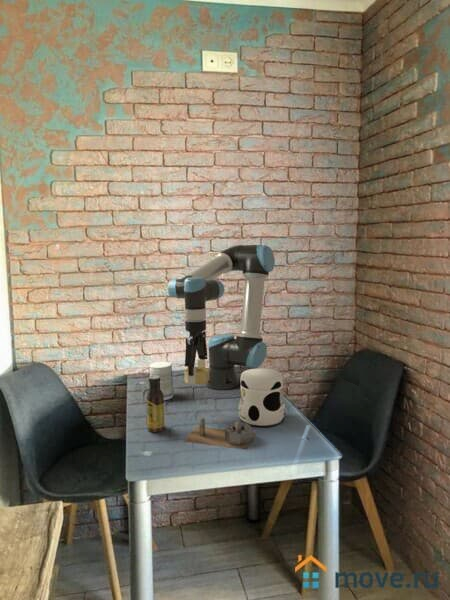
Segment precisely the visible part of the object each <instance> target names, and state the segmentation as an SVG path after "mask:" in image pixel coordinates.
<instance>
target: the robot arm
mask: <svg viewBox="0 0 450 600" xmlns="http://www.w3.org/2000/svg"><path fill="white" fill-rule="evenodd" d="M275 264H276V260H275V253H274V251H273V249H272V248H271V247H270V246H269V245H266V244H264V245H263V244H247V245H246V244H245V245H243V244H242V245H241V244H240V245H238V244H237V245H234V246H231V247H228V248H226V249H224V250H222V251H220V252H219V253H217V254H216V255H214V258H213V259H211V260H210V261H208V262H207V263H205V264H203V265H202V266H200V267H199V268H196V269H195V270H193V271H192V272H190V273H189V274H187V275H185V276H184V277H181V278H173V279H171V280H170V281H169V282H168V285H167V292H168V295H169V296H170V297H171V298H174V299H178V300H179V299H183V300H184V310H183V311H184V316H185V317H184V318H185V323H184V324H185V325H184V328H185V332H188V333H189V336H188V338H185V355H184V357H185V359H184V367H187V368H188V383H187V384H188V385H195V384H196V367H206V360H208V363H209V366H208V367H209V368H208V369H209V375H210V380H209V381H208V382H207V383H205V384H206V387H207V388H208V389H212V390H217V391H219V390H221V391H222V390H224V391H225V390H231V389H235V388H237V387H238V386H239V384H240V379H239V376H238V374H237V371H236V367H235V366H239V367H245V368H250V369H256V368H259V367H261V366H262V364H263V363H264V361H265V359H266V356H267V353H268V348H267V344H266V342H264V341H263V338H264V337H263V336H262V334H261V325H262V324H261V323H262V313H263V304H264V303H263V301H264V291H265V281H266V280H267V278H269V273H271V272H273V271H274V268H275V266H276V265H275ZM233 271H235V272H239V271H240V272H242V276H243V277H244V278H245V280H244V289H243V301H242V311H241V322H240V323H241V324H240V331H239V332H238V333H237V334H236V338H235V335H234V334H231V333H223V334H222V333H221V334H217V335H214V336H212V337H210V338H209V339H208V347H207V340H206V338H207V337H206V336H207V333H206V330H207V321H206V319H207V309H206V302H210V301H215V300H218V299H220V298H222V297H223V295H224V293H225V285H224V283H223V282H222V281H221V280H219V279H217V278H218V277H220V276H222V275H223V274H228V273H230V272H233ZM207 348H208V349H207ZM196 357H198V359H197V358H196ZM196 359H197V366H196V364H195V363H196Z"/></svg>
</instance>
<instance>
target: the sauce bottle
mask: <svg viewBox="0 0 450 600" xmlns="http://www.w3.org/2000/svg"><path fill="white" fill-rule="evenodd" d="M148 382H149V383H148V384H149V386H148V387H149V388H148V392H147V396H146V401H145V402H146V422H147V424H146V426H147V430H148V431H149V432H151V433H158V432H159V433H160V432H162V431H163V430H165V425H166V424H165V400H164V395H163V392H162V391H161V389H160V376H158V375H153V376H150V375H149V377H148Z"/></svg>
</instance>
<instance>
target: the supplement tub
mask: <svg viewBox="0 0 450 600" xmlns="http://www.w3.org/2000/svg"><path fill="white" fill-rule="evenodd" d="M153 375H158V376H160V389H161V391H162V392H163V395H164V401H168V400H170V399H172V398H173V397H174V376H173V366H172V362H170V361H154V362H151V363H150V364H149V377H150V376H153Z"/></svg>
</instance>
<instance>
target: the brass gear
mask: <svg viewBox="0 0 450 600" xmlns="http://www.w3.org/2000/svg"><path fill="white" fill-rule="evenodd" d="M183 373H184V375H183V377H184V380H183V381H184V382H185V383H186V384H188V367H187V368H186V369H184V371H183ZM209 380H210V375H209V368H208V367H206V366H205V367H198V366H196V384H194V385H197V386H198V385H203V384H206V383H207V382H208V381H209Z"/></svg>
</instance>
